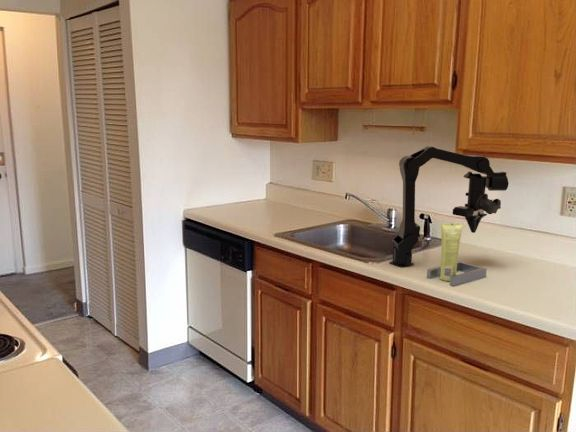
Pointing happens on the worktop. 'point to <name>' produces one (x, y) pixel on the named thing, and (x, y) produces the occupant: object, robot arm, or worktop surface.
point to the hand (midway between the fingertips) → (473, 232)
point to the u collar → (469, 275)
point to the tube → (449, 249)
